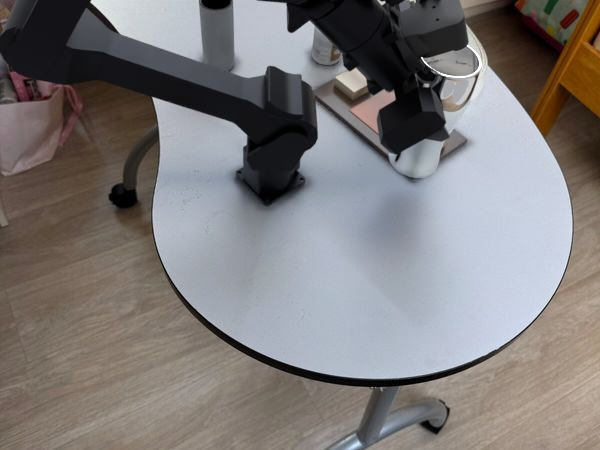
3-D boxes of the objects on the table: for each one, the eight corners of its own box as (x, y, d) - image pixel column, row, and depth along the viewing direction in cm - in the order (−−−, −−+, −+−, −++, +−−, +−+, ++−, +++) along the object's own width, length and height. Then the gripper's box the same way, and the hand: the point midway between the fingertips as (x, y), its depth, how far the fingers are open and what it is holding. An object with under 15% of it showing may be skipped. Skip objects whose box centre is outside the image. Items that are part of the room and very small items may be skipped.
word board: (412, 179, 75) (415, 168, 74) (310, 94, 84) (311, 82, 82) (466, 142, 80) (471, 131, 78) (365, 65, 88) (367, 53, 87)
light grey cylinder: (198, 67, 85) (192, 4, 77) (212, 50, 88) (208, -13, 80) (226, 76, 84) (223, 14, 76) (239, 59, 87) (238, -4, 79)
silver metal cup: (373, 151, 71) (403, 47, 60) (416, 132, 74) (452, 30, 62) (409, 189, 68) (448, 87, 56) (452, 168, 71) (498, 67, 59)
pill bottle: (337, 68, 87) (344, 23, 81) (308, 63, 88) (313, 17, 81) (342, 50, 90) (349, 5, 84) (314, 45, 90) (319, 0, 84)
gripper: (452, 40, 46) (531, 142, 56) (417, -78, 58) (488, 25, 67) (340, 110, 52) (429, 192, 62) (327, -9, 63) (405, 76, 73)
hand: (440, 116), depth 66 cm, fingers closed on silver metal cup, 6 cm apart
